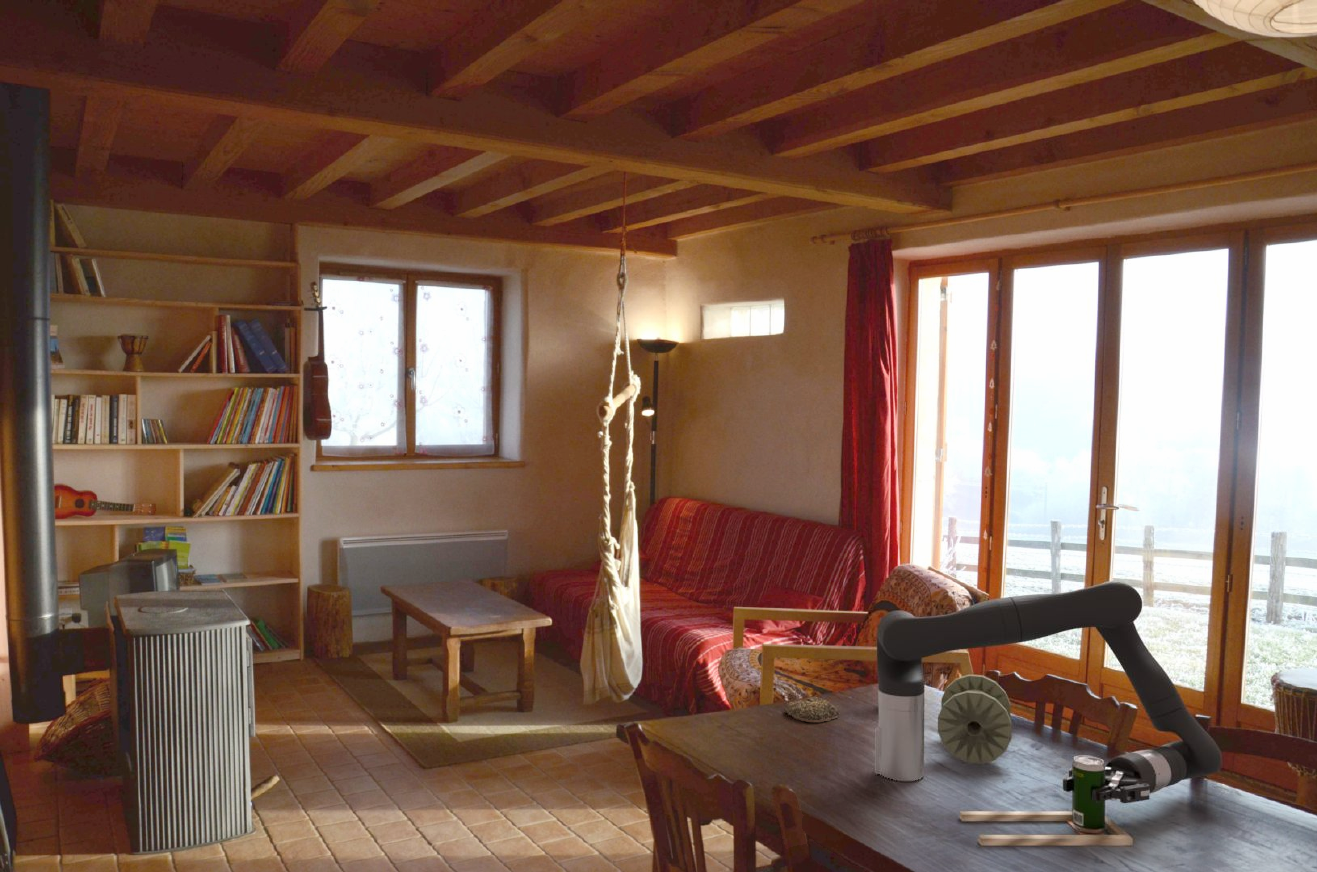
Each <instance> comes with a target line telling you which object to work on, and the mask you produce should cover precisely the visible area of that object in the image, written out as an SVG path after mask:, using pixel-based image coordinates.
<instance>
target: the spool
mask: <svg viewBox="0 0 1317 872" xmlns="http://www.w3.org/2000/svg"><path fill="white" fill-rule="evenodd" d="M940 701H941V703H940V704H941V705H940V706H941V708H940V711H939V712H938V716H937V733H938V735H939V738H940V740H941V743H942V745H943V747H945V748H946V750H948V752H949V753H950V754H951V755H952V756H953V757H955V758H957V759H958V760H961V761H963V762H965V763H971V764H980V765H981V764H987V763H989V762H993V761H996V760H997V759H998V758H999V757H1001V756H1002V755H1003V754H1004V753H1006V751H1007V749H1008V747H1009V745H1010V742H1011V741H1012V739H1013V738H1012V735H1013V734H1012V732H1013V731H1012V729H1013V728H1012V721H1011V715H1012V714H1011V709H1012V707H1011V705H1012V704H1011V702H1010V699H1009V697H1008V694H1007V691H1005V689H1003V688H1002V687H1001V685H999V683H998V682H997V681H995V680H993V679H991V678H989V677H988V676H985V675H983V674H966V675H962V676H960V677H957V678H955V679H953V681H952V682H951V683H949V684H948V685H947V686H946V688H945V690H944V692H943V694H942V697H941V700H940Z"/></svg>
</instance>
